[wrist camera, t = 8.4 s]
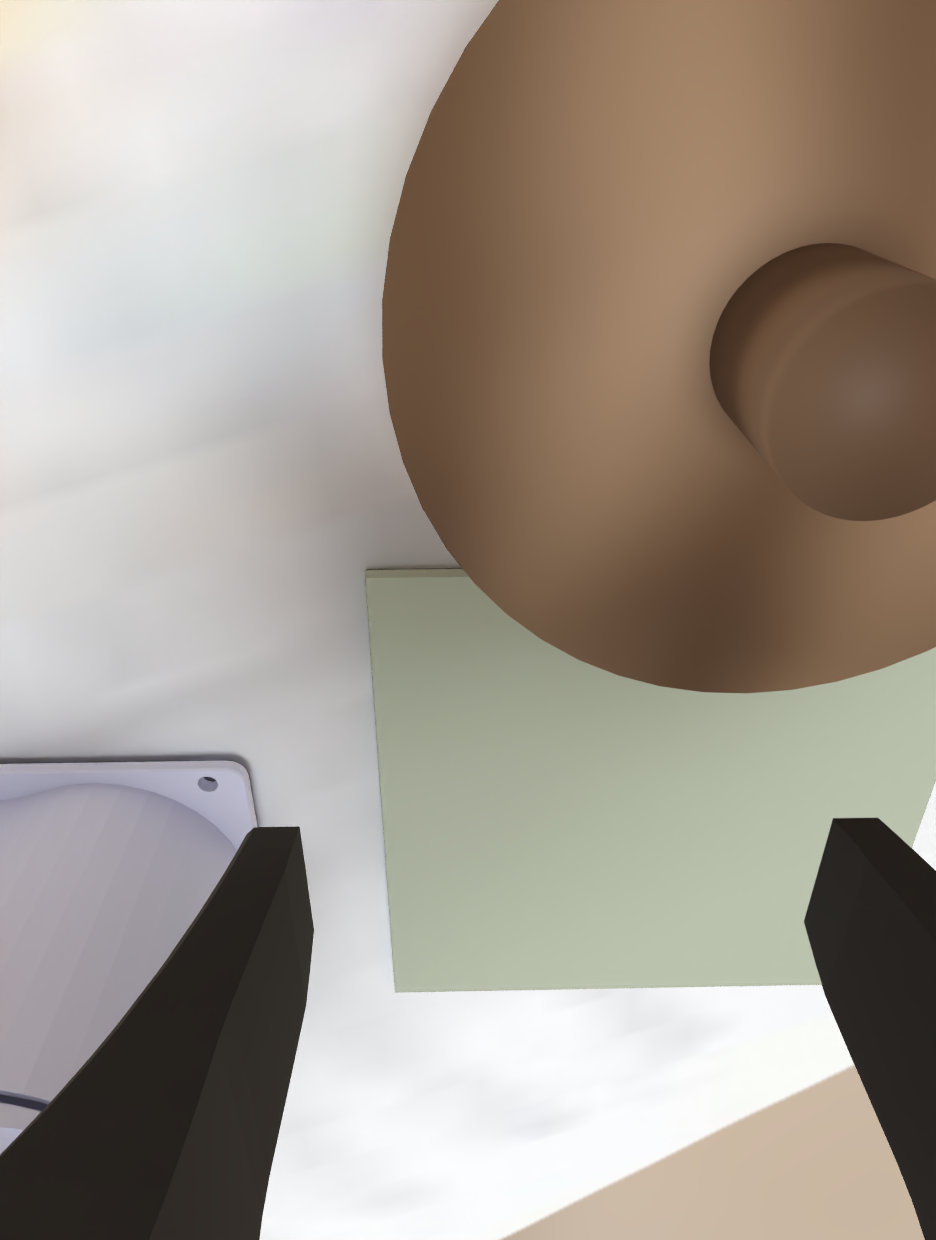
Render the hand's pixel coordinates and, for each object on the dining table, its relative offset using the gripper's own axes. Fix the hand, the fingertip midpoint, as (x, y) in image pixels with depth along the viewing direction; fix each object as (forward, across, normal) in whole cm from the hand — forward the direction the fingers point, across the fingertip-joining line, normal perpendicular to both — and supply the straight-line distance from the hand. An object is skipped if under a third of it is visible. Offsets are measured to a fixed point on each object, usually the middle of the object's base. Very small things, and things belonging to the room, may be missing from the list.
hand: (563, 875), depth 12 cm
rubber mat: (+10, -4, +8) cm, 13 cm away
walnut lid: (+6, -4, -6) cm, 9 cm away
